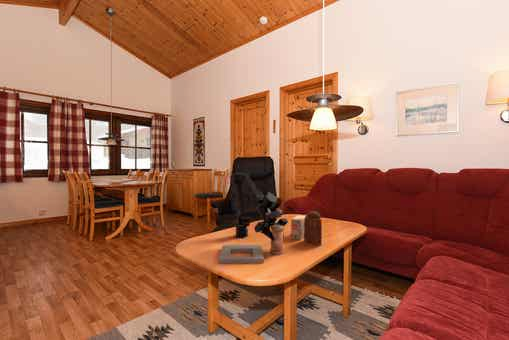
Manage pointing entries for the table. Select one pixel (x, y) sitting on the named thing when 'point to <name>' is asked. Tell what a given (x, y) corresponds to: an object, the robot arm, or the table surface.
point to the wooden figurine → (313, 228)
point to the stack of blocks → (297, 227)
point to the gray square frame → (238, 249)
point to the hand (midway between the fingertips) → (278, 239)
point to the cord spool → (277, 239)
